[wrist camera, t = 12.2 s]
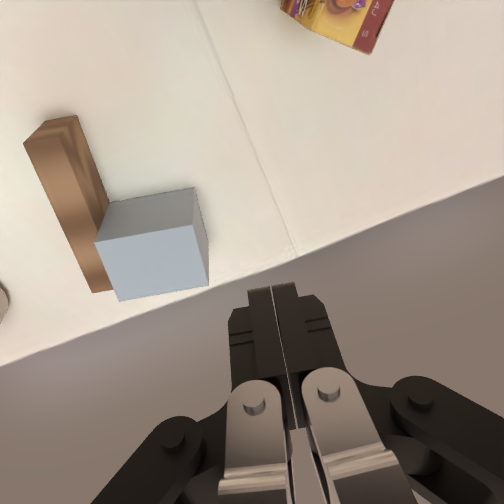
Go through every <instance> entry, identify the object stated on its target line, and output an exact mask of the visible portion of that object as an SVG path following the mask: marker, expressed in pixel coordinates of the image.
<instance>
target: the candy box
mask: <svg viewBox="0 0 504 504" xmlns="http://www.w3.org/2000/svg"><path fill="white" fill-rule="evenodd" d="M393 3H394V0H283V2H282V5H281V7H280V9H281V10H283V11H284V12H285V13H287V14H288V15H290V16H291V17H292V18H294V19H295V20H296V21H298V22H299V23H300V24H302V25H303V26H304V27H306V28H307V29H309V30H310V31H313V32H315V33H317V34H320V35H322V36H325V37H327V38H329V39H332V40H334V41H336V42H339V43H341V44H343V45H346V46H348V47H350V48H353V49H355V50H357V51H360V52H362V53H364V54H367V55H370V54H371V53H372V51H373V49H374V46H375V44H376V42H377V39H378V37H379V35H380V32H381V30H382V28H383V25H384V23H385V21H386V19H387V16H388V14H389V12H390V9H391V7H392V5H393Z"/></svg>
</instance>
